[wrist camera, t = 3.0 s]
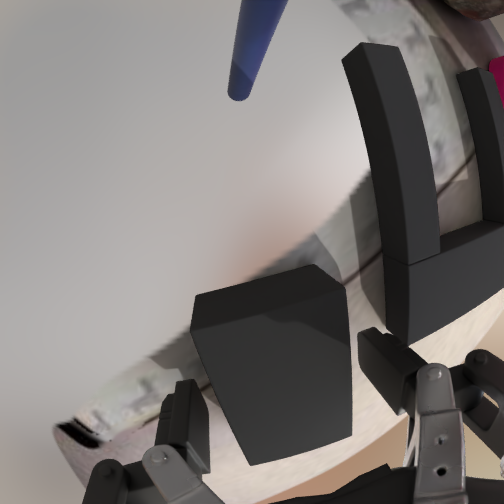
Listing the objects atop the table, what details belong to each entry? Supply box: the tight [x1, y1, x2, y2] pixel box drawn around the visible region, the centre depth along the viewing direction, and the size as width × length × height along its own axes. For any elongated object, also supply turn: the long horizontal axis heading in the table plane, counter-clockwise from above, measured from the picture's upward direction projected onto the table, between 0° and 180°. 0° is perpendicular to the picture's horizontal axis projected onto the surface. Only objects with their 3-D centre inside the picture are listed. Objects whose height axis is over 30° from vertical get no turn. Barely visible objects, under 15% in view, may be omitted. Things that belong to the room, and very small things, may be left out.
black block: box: [190, 264, 352, 466], centre depth 11 cm, size 8×5×3 cm, turn 13°
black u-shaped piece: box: [342, 42, 504, 346], centre depth 10 cm, size 13×10×2 cm
